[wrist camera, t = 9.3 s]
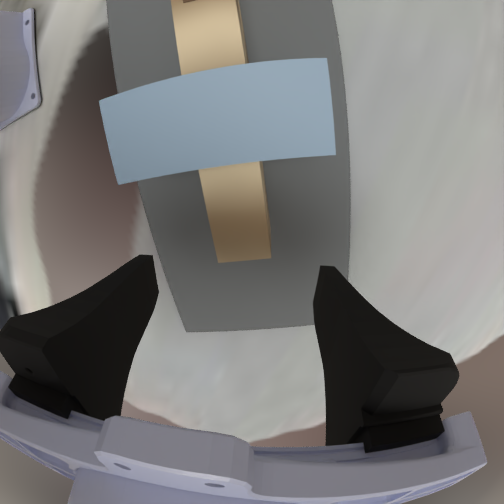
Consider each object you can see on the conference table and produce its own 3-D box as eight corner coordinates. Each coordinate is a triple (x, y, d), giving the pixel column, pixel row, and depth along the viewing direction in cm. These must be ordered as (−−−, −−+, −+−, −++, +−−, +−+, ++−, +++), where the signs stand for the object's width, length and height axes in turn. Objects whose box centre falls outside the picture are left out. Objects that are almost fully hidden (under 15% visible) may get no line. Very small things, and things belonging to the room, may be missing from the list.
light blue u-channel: (151, 95, 15) (98, 100, 10) (305, 70, 14) (326, 57, 9) (162, 154, 17) (118, 184, 12) (312, 133, 16) (335, 154, 11)
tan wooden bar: (186, -13, 12) (166, -35, 8) (235, -22, 11) (226, -49, 8) (226, 231, 20) (218, 263, 16) (270, 226, 20) (271, 259, 16)
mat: (109, -95, 6) (107, -97, 5) (288, -132, 4) (288, -134, 4) (187, 329, 26) (186, 332, 25) (343, 318, 24) (344, 321, 24)
